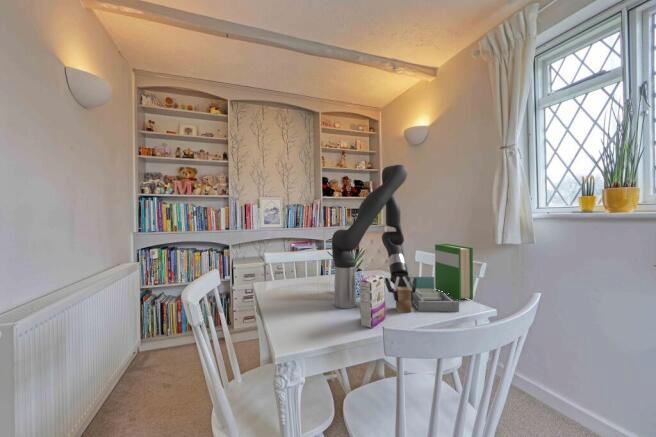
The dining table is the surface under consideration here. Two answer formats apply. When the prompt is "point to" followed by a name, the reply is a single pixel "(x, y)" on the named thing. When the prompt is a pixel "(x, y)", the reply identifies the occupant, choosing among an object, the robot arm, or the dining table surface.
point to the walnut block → (403, 299)
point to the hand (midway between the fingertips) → (404, 300)
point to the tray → (426, 288)
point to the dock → (435, 303)
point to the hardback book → (454, 270)
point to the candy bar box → (372, 300)
